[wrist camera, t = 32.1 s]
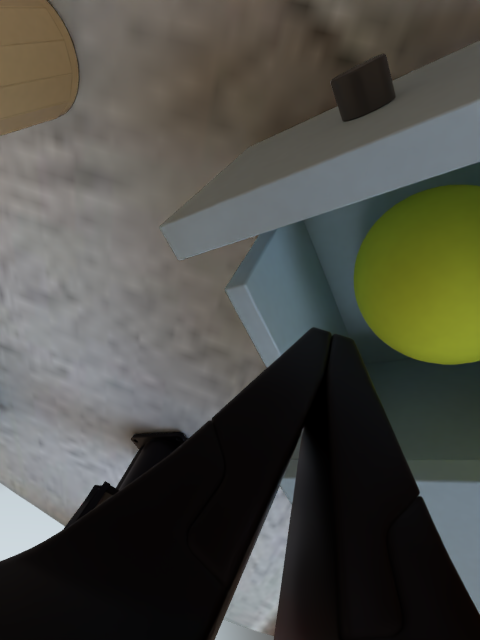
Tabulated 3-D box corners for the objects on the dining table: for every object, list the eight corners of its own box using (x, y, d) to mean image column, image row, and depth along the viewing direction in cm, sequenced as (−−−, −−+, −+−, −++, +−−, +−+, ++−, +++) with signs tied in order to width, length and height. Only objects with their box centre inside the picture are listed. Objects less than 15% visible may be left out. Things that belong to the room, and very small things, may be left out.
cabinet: (317, 320, 24) (273, 477, 16) (588, 268, 17) (747, 489, 9) (381, 469, 30) (374, 635, 22) (595, 472, 24) (692, 703, 16)
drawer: (236, 121, 18) (135, 188, 11) (562, -46, 12) (767, -118, 5) (339, 364, 24) (316, 498, 17) (580, 334, 18) (681, 517, 12)
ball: (382, 389, 17) (452, 404, 11) (314, 262, 18) (341, 205, 12) (514, 325, 17) (662, 300, 11) (439, 200, 18) (536, 109, 12)
